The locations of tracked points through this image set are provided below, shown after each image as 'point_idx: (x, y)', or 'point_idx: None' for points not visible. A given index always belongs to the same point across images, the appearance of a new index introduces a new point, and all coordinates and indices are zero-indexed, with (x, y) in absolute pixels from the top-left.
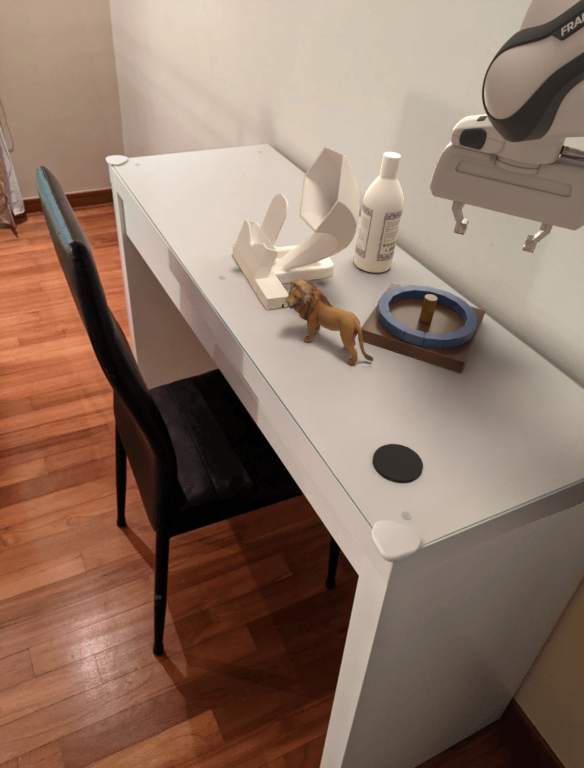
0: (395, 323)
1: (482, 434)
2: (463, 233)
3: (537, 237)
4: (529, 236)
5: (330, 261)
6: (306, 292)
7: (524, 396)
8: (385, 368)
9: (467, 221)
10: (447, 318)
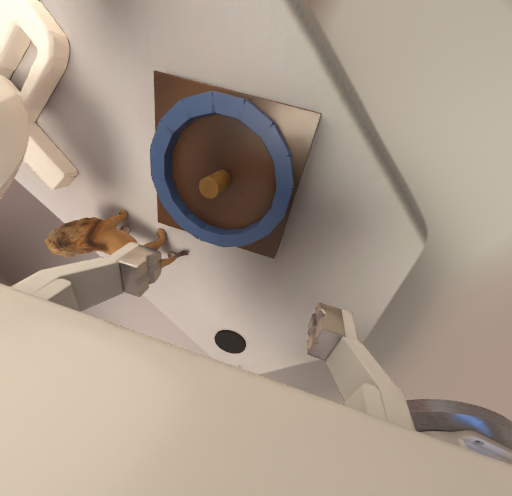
0: (185, 225)
1: (289, 318)
2: (156, 278)
3: (336, 380)
4: (323, 340)
5: (38, 25)
6: (71, 255)
7: (342, 274)
8: (203, 255)
9: (136, 279)
10: (253, 165)
